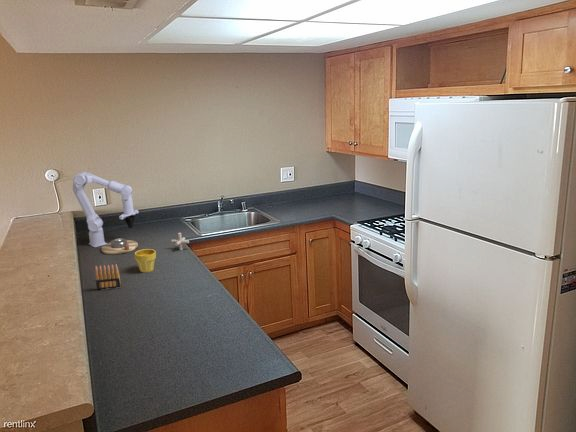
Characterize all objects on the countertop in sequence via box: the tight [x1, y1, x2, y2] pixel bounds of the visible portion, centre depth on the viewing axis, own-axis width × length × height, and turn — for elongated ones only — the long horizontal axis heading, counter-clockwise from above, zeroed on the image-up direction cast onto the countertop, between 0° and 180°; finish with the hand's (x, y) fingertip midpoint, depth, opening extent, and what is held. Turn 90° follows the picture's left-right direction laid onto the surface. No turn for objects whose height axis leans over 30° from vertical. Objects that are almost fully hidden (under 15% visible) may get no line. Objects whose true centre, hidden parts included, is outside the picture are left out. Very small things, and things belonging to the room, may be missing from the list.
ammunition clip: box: [94, 263, 122, 290], centre depth 210 cm, size 11×2×12 cm, turn 101°
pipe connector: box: [171, 232, 190, 251], centre depth 260 cm, size 10×10×10 cm
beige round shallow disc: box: [100, 239, 139, 255], centre depth 264 cm, size 20×20×4 cm
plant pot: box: [134, 248, 157, 273], centre depth 231 cm, size 10×10×10 cm
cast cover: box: [109, 237, 128, 248], centre depth 264 cm, size 9×9×4 cm
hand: (130, 227), depth 272 cm, fingers closed
